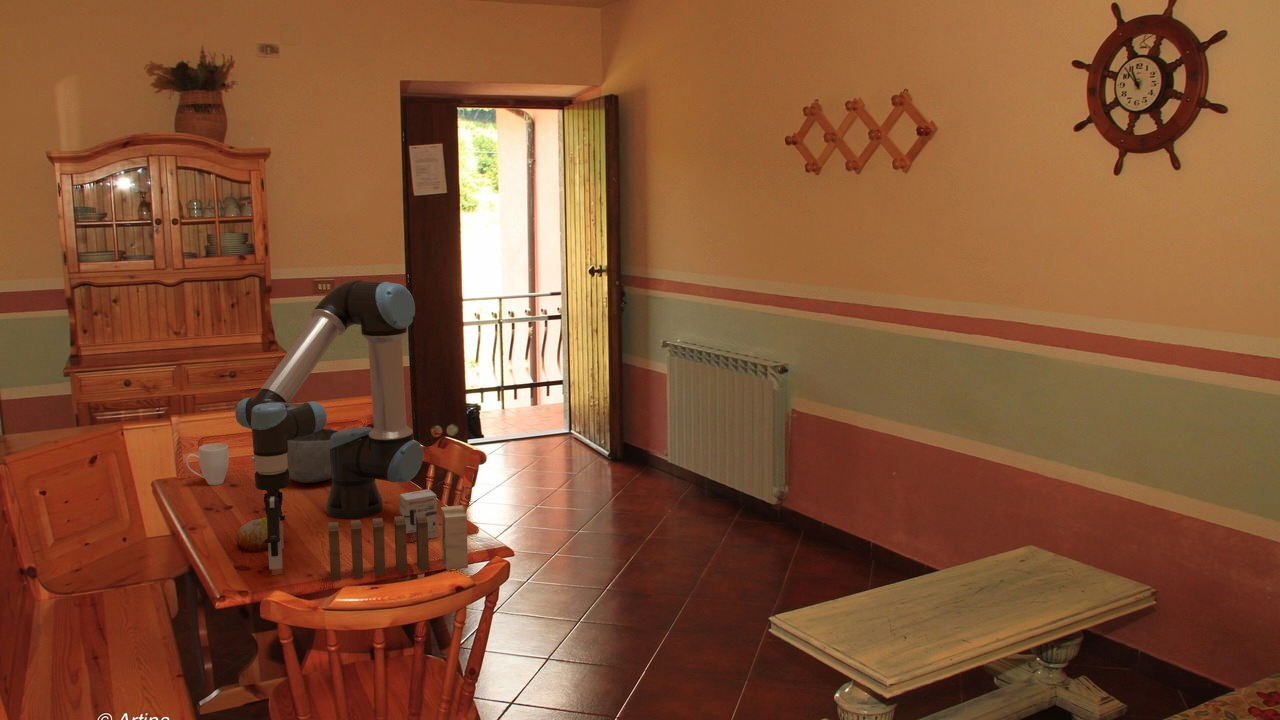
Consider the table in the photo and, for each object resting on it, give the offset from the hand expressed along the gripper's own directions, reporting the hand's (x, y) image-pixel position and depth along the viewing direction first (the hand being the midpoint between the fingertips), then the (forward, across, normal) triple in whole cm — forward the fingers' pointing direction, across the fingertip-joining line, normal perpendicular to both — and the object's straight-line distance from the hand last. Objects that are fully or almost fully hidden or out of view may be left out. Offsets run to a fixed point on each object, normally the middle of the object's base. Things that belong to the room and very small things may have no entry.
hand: (276, 558), depth 233 cm
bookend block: (+3, +7, +41) cm, 41 cm away
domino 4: (+3, +7, +23) cm, 24 cm away
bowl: (+3, -72, +8) cm, 73 cm away
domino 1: (+3, 0, 0) cm, 3 cm away
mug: (+3, -77, -22) cm, 80 cm away
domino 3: (+3, +7, +18) cm, 20 cm away
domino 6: (+3, +7, +33) cm, 34 cm away
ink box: (+3, -13, +34) cm, 37 cm away
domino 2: (+3, +7, +13) cm, 15 cm away
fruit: (+3, -19, -5) cm, 20 cm away
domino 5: (+3, +7, +28) cm, 29 cm away
